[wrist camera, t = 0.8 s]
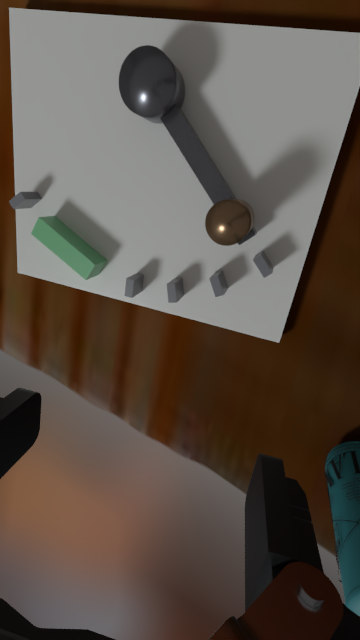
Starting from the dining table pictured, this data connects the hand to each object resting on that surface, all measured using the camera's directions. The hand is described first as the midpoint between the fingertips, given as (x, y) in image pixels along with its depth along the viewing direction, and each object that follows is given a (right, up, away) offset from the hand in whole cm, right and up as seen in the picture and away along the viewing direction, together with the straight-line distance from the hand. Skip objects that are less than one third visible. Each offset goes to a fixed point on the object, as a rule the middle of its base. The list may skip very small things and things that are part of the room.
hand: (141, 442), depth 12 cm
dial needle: (+3, +18, +16) cm, 25 cm away
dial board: (-1, +17, +20) cm, 27 cm away
